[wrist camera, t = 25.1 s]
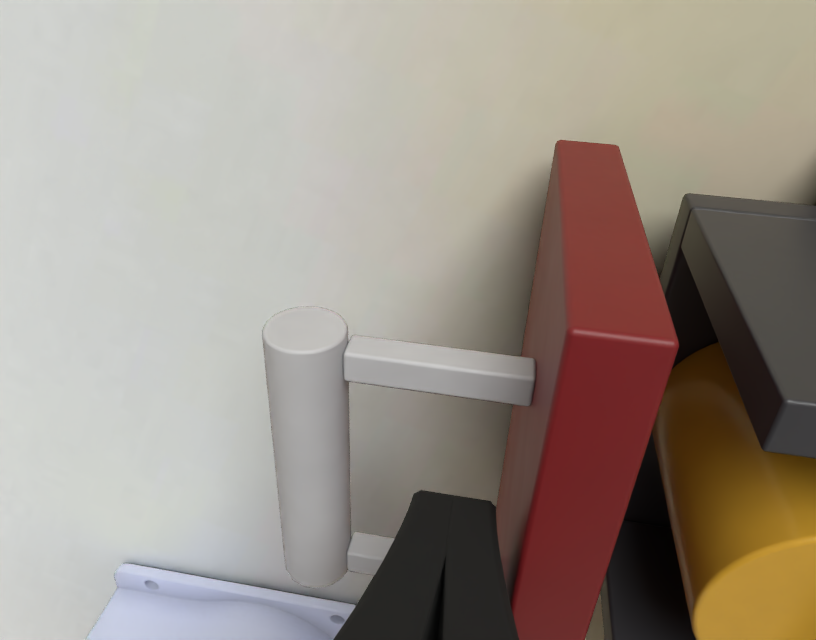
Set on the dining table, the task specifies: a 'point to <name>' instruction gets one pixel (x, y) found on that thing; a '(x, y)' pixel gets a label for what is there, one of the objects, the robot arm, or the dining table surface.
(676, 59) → the dining table surface
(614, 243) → the drawer
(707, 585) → the yellow cylinder
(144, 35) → the dining table surface
